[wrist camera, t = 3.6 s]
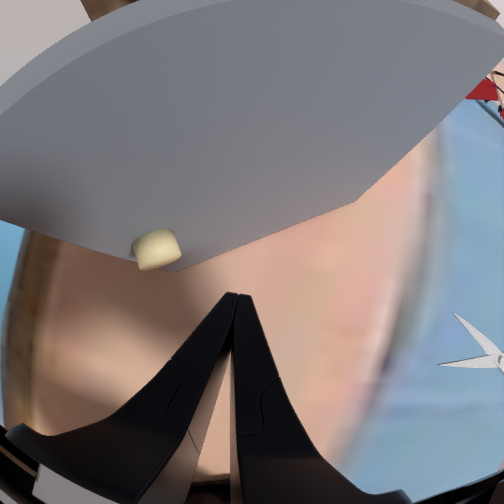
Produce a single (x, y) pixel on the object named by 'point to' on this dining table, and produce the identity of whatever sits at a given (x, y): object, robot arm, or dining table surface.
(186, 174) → the flap
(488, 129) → the dining table surface
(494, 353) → the scissors
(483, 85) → the glasses
